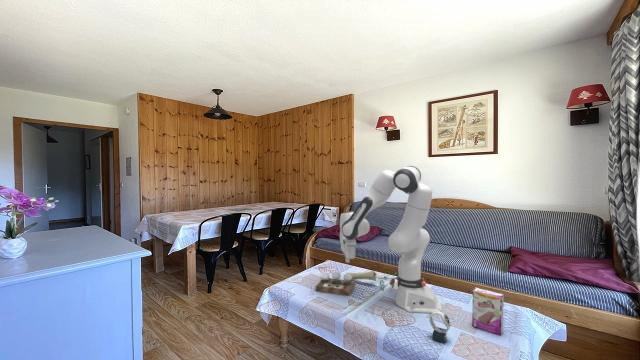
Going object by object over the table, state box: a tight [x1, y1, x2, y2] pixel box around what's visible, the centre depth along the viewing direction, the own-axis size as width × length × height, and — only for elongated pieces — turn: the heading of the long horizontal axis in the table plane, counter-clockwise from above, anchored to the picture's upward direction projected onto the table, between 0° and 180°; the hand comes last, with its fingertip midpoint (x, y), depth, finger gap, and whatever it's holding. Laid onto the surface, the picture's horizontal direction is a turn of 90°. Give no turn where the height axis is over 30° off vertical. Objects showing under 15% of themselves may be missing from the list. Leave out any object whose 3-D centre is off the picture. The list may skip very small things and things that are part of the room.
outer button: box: [320, 273, 330, 280], centre depth 171 cm, size 5×5×2 cm
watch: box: [428, 310, 452, 344], centre depth 116 cm, size 6×8×11 cm
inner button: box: [343, 273, 353, 281], centre depth 166 cm, size 5×5×2 cm
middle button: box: [331, 272, 342, 280], centre depth 169 cm, size 5×5×2 cm
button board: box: [315, 278, 356, 297], centre depth 167 cm, size 20×14×4 cm
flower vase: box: [345, 270, 398, 291], centre depth 170 cm, size 12×12×35 cm
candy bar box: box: [471, 287, 505, 336], centre depth 123 cm, size 11×5×16 cm, turn 48°
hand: (347, 261), depth 166 cm, fingers closed
